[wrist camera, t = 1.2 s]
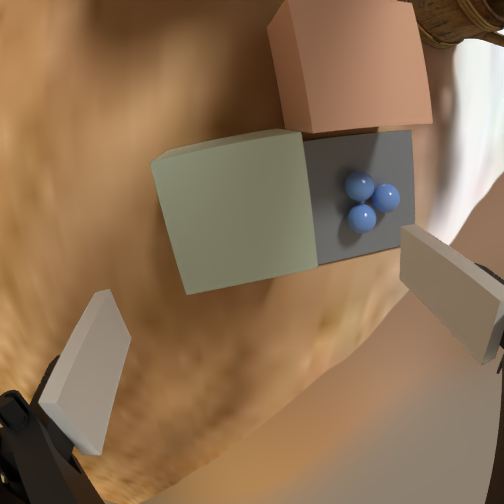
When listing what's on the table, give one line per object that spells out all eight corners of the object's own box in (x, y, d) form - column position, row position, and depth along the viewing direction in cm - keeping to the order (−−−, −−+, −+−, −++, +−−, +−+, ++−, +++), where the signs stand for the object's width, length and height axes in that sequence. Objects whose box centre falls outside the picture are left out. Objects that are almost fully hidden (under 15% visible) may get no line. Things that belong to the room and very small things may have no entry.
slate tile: (293, 142, 29) (294, 142, 29) (408, 130, 30) (410, 130, 29) (309, 264, 35) (310, 266, 34) (412, 241, 35) (414, 242, 35)
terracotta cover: (266, 28, 25) (286, -4, 16) (364, 25, 25) (411, 3, 17) (285, 129, 29) (313, 133, 21) (380, 118, 29) (432, 123, 21)
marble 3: (365, 182, 31) (379, 189, 28) (390, 178, 31) (405, 185, 29) (367, 210, 32) (380, 219, 30) (391, 205, 32) (405, 213, 30)
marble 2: (341, 202, 32) (353, 211, 29) (367, 198, 32) (380, 206, 29) (343, 230, 33) (354, 240, 30) (369, 225, 33) (381, 234, 30)
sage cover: (168, 150, 28) (149, 162, 20) (276, 128, 29) (301, 132, 20) (192, 249, 32) (186, 295, 24) (292, 229, 33) (318, 267, 25)
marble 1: (338, 170, 30) (350, 175, 28) (365, 166, 31) (378, 171, 28) (341, 199, 32) (352, 207, 29) (367, 194, 32) (380, 202, 29)
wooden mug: (462, 91, 28) (586, 103, 12) (384, 6, 24) (502, -45, 8) (487, 48, 26) (598, 48, 9) (416, -32, 22) (521, -77, 5)
